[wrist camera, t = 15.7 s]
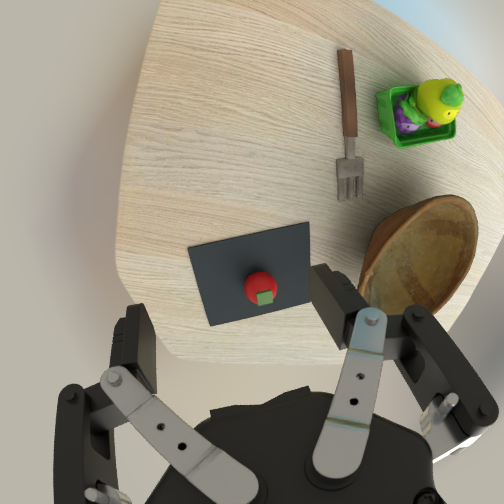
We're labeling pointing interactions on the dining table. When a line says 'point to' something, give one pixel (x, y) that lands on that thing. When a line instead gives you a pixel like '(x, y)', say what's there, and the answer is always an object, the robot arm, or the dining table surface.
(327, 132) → the dining table surface
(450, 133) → the fruit basket
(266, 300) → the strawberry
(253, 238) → the placemat
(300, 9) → the dining table surface
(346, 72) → the fork
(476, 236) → the bowl
